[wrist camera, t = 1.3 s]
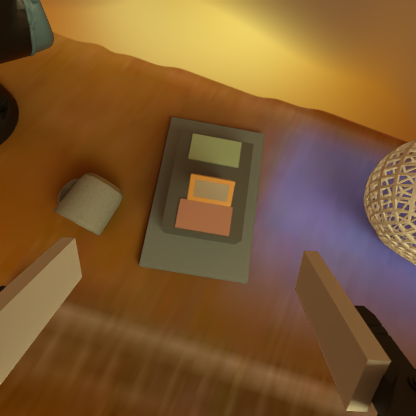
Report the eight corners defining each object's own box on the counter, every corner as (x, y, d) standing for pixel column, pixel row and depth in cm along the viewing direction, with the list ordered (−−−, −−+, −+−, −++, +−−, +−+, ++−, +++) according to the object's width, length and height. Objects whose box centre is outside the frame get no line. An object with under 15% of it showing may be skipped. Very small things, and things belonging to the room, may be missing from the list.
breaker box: (245, 283, 44) (257, 285, 36) (140, 266, 43) (130, 265, 35) (262, 137, 51) (275, 114, 43) (172, 121, 50) (169, 94, 42)
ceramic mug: (130, 198, 46) (118, 183, 38) (105, 239, 44) (88, 231, 36) (79, 172, 46) (57, 152, 39) (52, 211, 44) (24, 198, 37)
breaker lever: (225, 196, 39) (230, 206, 30) (191, 190, 39) (187, 199, 30) (228, 176, 39) (235, 181, 30) (194, 170, 38) (191, 174, 29)
